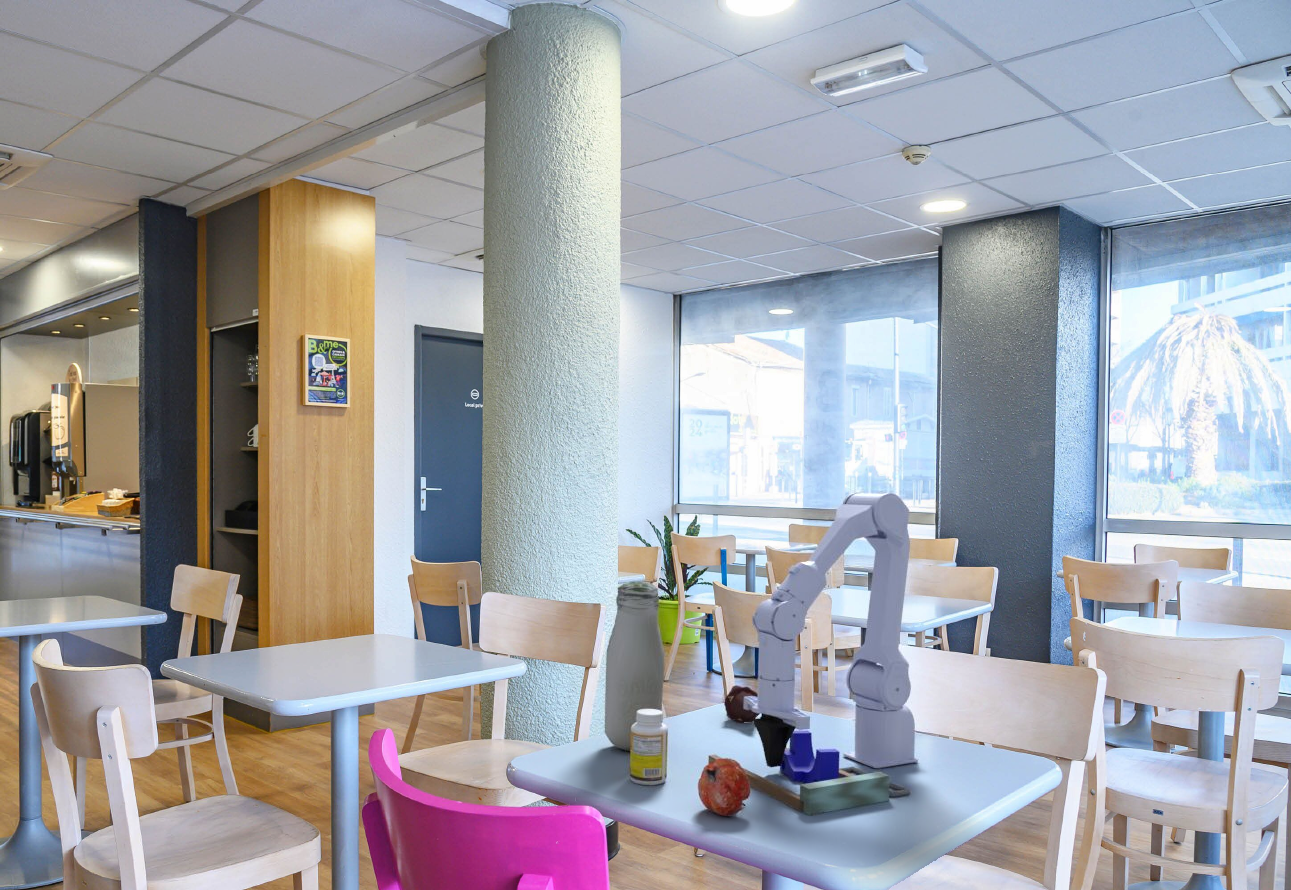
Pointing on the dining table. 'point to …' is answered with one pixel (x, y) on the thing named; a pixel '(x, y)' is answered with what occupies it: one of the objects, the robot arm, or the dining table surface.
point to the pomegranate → (724, 787)
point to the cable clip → (809, 760)
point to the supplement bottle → (648, 748)
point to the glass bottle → (633, 661)
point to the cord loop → (896, 793)
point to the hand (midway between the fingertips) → (773, 765)
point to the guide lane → (826, 791)
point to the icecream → (739, 704)
